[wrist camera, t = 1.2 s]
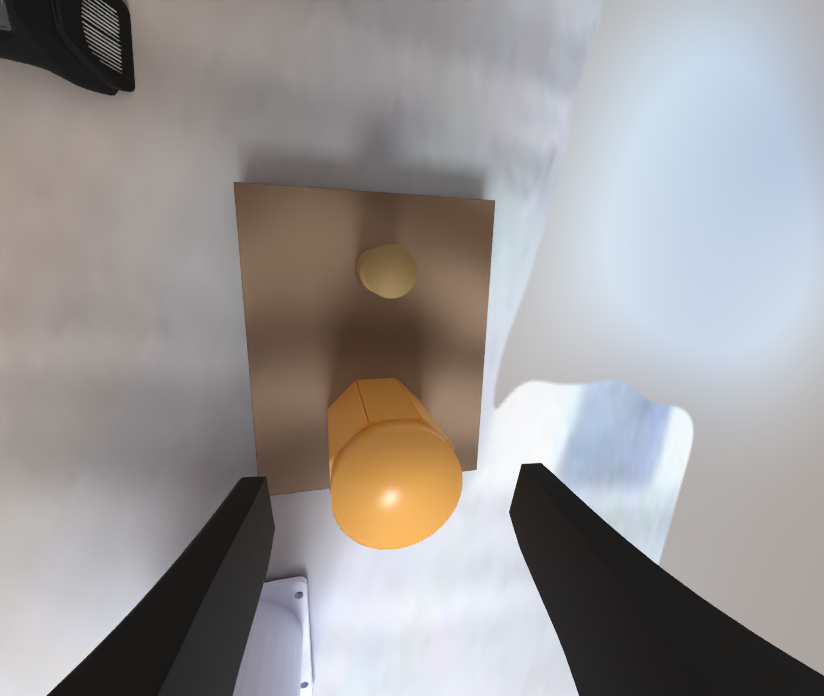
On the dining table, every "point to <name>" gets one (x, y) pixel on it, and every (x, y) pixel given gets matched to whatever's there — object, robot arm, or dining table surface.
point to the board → (359, 313)
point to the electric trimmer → (71, 40)
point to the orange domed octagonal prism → (389, 466)
